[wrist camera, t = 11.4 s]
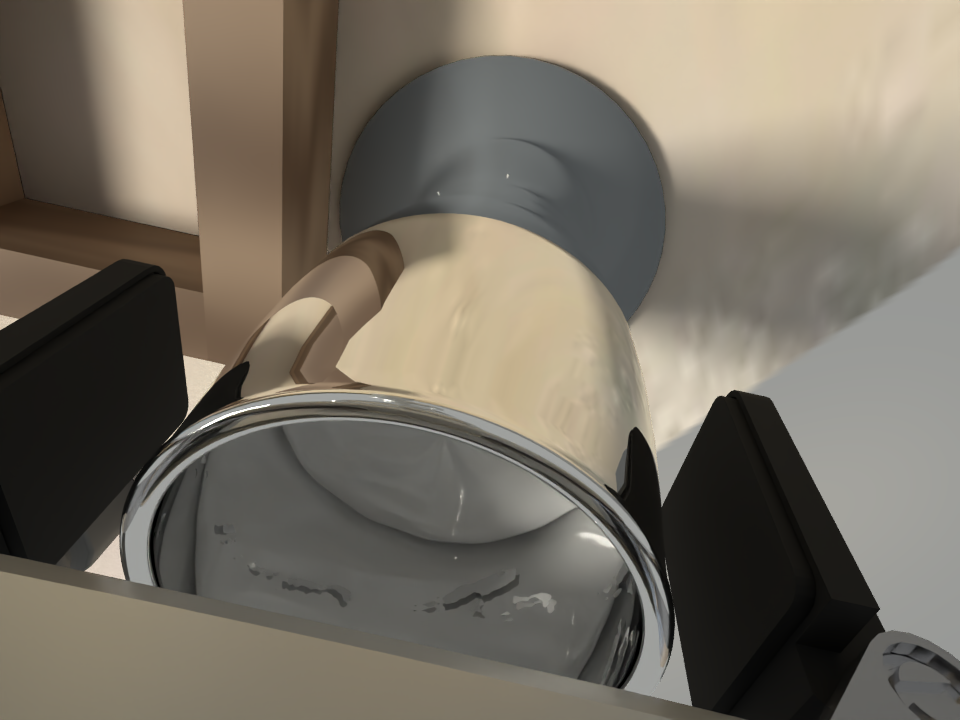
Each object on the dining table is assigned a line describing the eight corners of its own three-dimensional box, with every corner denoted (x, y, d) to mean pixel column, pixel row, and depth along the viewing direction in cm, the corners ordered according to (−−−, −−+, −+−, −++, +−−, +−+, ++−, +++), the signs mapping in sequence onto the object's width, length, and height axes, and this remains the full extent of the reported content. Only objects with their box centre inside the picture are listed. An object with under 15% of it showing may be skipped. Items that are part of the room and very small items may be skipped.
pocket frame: (-158, -238, 16) (-356, -309, 12) (344, -133, 16) (284, -175, 12) (-23, 247, 23) (-126, 287, 20) (323, 323, 23) (281, 377, 19)
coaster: (354, 20, 18) (350, 20, 17) (715, 97, 17) (719, 98, 17) (335, 337, 23) (331, 342, 23) (608, 397, 23) (608, 402, 23)
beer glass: (645, 259, 20) (804, 715, 7) (479, 356, 22) (366, 815, 9) (529, 72, 17) (433, 224, 4) (359, 205, 20) (-15, 545, 7)
